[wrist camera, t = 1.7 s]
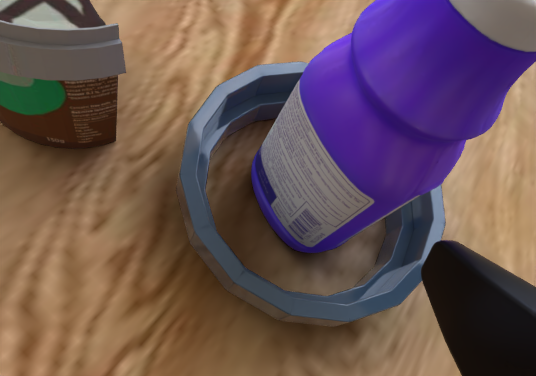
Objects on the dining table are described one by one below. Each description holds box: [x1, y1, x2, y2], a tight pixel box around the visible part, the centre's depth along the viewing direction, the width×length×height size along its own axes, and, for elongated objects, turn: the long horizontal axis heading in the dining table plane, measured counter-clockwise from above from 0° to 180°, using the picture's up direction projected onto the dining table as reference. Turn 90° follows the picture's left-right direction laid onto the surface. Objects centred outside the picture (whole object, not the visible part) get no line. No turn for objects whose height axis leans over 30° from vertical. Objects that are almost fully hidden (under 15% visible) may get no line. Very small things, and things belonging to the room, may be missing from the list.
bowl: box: [176, 62, 446, 327], centre depth 24 cm, size 15×15×4 cm
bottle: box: [251, 0, 536, 253], centre depth 18 cm, size 7×6×17 cm
